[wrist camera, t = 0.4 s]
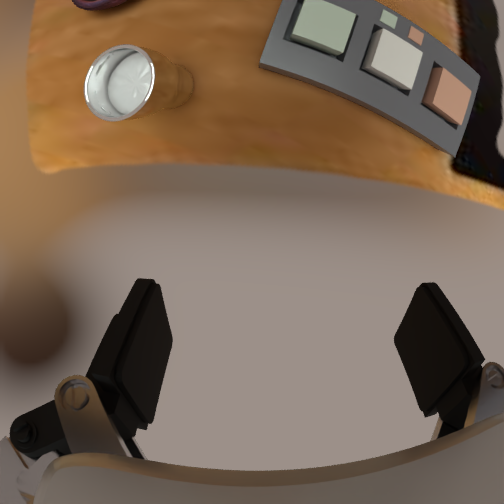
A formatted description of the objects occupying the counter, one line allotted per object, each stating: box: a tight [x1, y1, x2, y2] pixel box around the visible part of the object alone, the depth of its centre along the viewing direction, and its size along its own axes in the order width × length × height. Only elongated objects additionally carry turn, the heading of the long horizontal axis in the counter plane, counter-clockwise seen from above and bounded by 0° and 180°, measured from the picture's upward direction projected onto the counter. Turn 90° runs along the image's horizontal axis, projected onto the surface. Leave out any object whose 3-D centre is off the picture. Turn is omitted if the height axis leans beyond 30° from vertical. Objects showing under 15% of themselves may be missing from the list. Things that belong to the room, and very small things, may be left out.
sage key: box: [289, 0, 356, 56], centre depth 21 cm, size 6×6×3 cm
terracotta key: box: [421, 68, 472, 125], centre depth 24 cm, size 6×6×3 cm
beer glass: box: [84, 44, 194, 121], centre depth 22 cm, size 7×7×15 cm
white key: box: [362, 28, 423, 89], centre depth 22 cm, size 6×6×3 cm
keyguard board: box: [259, 0, 480, 157], centre depth 24 cm, size 14×28×5 cm, turn 73°
